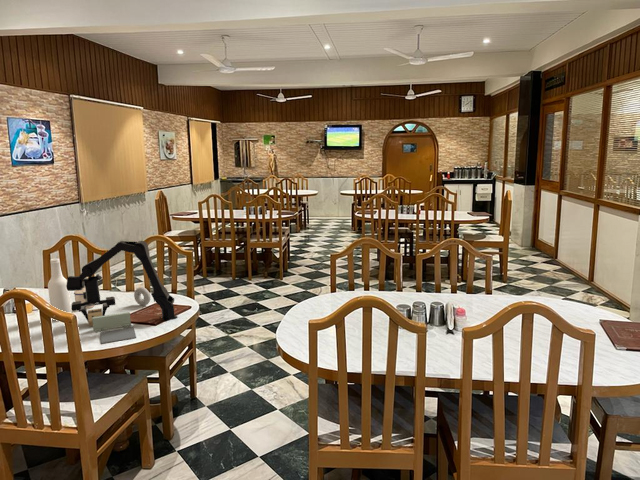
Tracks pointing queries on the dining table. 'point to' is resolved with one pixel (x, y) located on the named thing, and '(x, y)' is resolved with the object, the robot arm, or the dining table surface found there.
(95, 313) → the marked cube
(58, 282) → the white bottle
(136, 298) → the donut
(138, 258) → the robot arm
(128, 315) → the sage screen
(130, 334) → the charcoal pad
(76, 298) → the teacup with lid
